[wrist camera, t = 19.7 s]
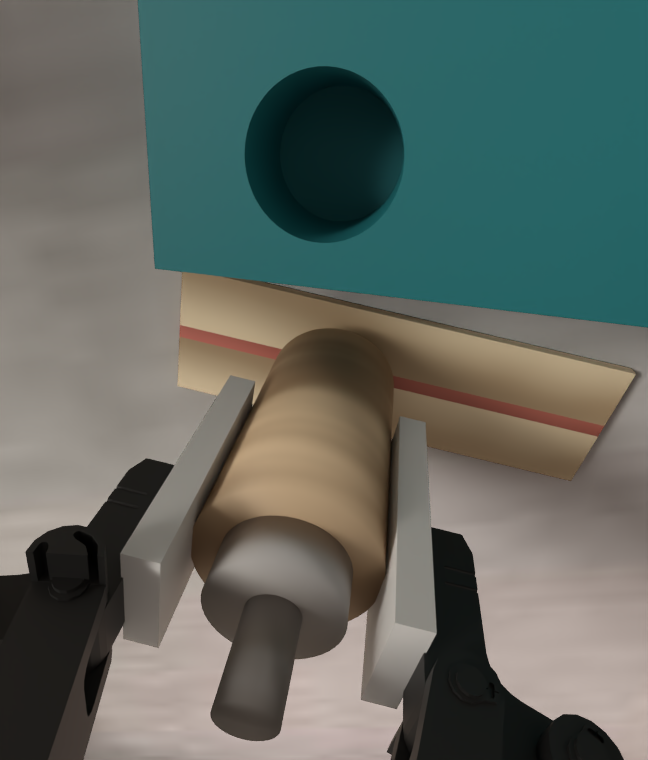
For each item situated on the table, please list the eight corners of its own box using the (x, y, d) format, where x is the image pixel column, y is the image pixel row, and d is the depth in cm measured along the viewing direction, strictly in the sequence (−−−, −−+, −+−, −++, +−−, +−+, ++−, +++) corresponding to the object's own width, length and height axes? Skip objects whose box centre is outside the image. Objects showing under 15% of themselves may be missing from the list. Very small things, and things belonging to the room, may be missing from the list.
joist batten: (186, 263, 18) (182, 267, 17) (631, 368, 17) (636, 374, 17) (181, 381, 20) (177, 385, 20) (568, 474, 20) (570, 481, 20)
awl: (281, 314, 17) (114, 609, 7) (408, 345, 17) (411, 686, 7) (264, 418, 19) (120, 748, 9) (376, 446, 19) (346, 808, 9)
